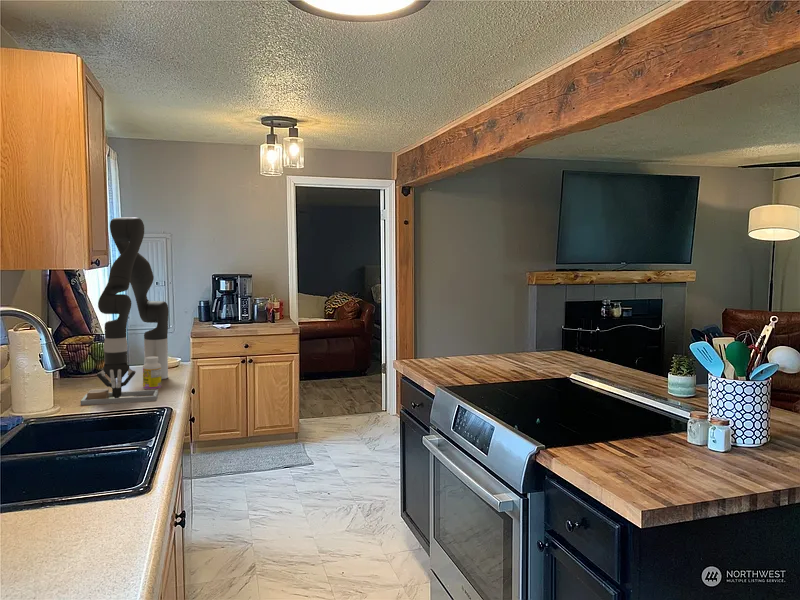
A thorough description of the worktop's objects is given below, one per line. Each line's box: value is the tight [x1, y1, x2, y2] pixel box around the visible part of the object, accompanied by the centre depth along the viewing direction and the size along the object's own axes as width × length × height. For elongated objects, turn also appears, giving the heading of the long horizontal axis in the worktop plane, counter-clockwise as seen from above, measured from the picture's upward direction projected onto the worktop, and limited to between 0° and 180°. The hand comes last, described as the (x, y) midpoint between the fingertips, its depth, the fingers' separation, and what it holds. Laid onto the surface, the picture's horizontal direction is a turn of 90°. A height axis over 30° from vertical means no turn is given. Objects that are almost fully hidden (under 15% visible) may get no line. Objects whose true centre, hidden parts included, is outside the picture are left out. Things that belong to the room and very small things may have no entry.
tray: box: [80, 389, 159, 406], centre depth 210 cm, size 11×24×2 cm, turn 109°
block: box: [86, 388, 110, 400], centre depth 207 cm, size 6×6×4 cm
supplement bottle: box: [142, 356, 162, 390], centre depth 229 cm, size 7×7×13 cm
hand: (116, 397), depth 209 cm, fingers closed
